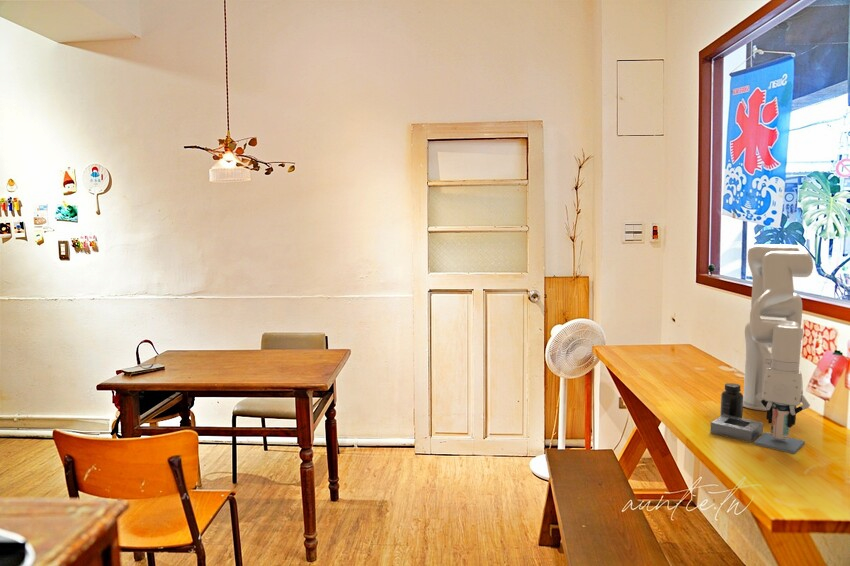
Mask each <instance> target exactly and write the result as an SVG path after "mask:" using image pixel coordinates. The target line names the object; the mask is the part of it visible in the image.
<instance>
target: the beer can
mask: <svg viewBox="0 0 850 566" xmlns="http://www.w3.org/2000/svg"><path fill="white" fill-rule="evenodd" d="M789 414H790V407H789V405H784V404H778V403H773V409H772V423H770V424H771V427H770V433H771V436H772V437H773V438H775V439H778V440H786V439H788V438H790V437H789V435H790V428H789V427H788V417H789Z"/></svg>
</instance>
